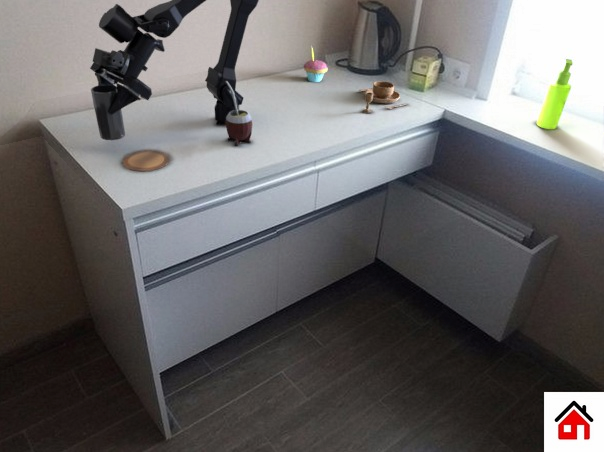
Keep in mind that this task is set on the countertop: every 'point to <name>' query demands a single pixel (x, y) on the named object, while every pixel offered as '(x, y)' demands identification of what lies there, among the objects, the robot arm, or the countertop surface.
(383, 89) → the place setting
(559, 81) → the soap dispenser
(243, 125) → the mate gourd
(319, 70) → the cupcake
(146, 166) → the trivet
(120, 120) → the grey metal tumbler
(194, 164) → the countertop surface
